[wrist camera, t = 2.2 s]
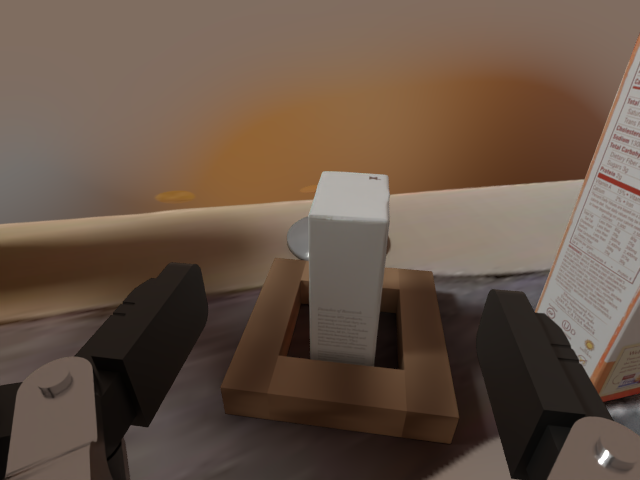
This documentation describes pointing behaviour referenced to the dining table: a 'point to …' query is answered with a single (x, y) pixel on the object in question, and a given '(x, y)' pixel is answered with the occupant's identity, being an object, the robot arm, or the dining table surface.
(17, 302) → the dining table surface
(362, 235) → the skincare box
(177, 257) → the dining table surface
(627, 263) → the cracker box
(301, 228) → the slate coaster
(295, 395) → the pocket block
